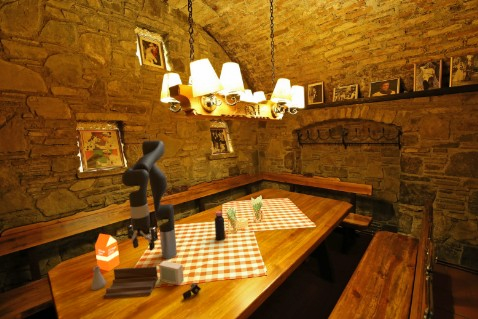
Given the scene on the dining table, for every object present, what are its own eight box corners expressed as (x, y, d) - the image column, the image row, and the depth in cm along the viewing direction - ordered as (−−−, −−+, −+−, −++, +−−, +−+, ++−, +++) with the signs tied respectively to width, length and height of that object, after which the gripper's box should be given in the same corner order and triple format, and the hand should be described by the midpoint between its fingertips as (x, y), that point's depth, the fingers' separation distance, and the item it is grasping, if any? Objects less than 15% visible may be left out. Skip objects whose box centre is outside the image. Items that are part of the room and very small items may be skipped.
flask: (89, 292, 115) (86, 273, 113) (92, 283, 121) (89, 266, 120) (105, 287, 118) (103, 269, 116) (107, 279, 124) (105, 262, 123)
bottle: (216, 236, 169) (214, 210, 166) (225, 236, 169) (223, 210, 166) (215, 240, 162) (213, 213, 159) (224, 240, 162) (223, 213, 159)
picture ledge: (116, 282, 122) (114, 268, 121) (157, 279, 122) (156, 266, 122) (104, 298, 110) (102, 284, 109) (150, 294, 111) (148, 280, 110)
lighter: (188, 303, 107) (182, 297, 105) (187, 301, 109) (180, 295, 107) (201, 289, 110) (195, 283, 108) (200, 287, 111) (193, 281, 109)
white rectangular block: (160, 280, 121) (158, 265, 120) (165, 275, 125) (164, 260, 124) (178, 285, 116) (177, 269, 115) (183, 280, 120) (182, 264, 119)
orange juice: (108, 271, 132) (104, 238, 129) (97, 268, 135) (93, 236, 132) (120, 263, 139) (116, 232, 137) (109, 261, 142) (105, 230, 140)
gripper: (159, 212, 102) (162, 245, 104) (133, 210, 106) (136, 242, 109) (147, 218, 95) (151, 255, 97) (120, 216, 99) (124, 251, 101)
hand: (144, 248), depth 103 cm, fingers open, 8 cm apart
